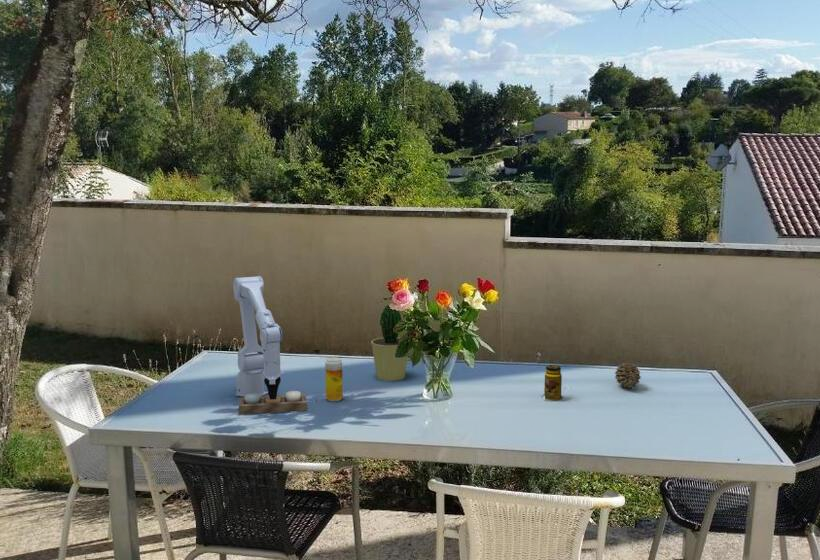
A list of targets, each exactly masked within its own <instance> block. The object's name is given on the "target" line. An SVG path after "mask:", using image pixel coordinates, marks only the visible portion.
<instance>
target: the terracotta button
mask: <svg viewBox="0 0 820 560" xmlns="http://www.w3.org/2000/svg"><path fill="white" fill-rule="evenodd" d="M265 401H266V403H274V402H281V398H280V397H276V399H270V398H269V397H267V398H266V399H265Z"/></svg>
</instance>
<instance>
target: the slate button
mask: <svg viewBox="0 0 820 560" xmlns="http://www.w3.org/2000/svg"><path fill="white" fill-rule="evenodd" d="M256 403H260V394H258V393H250V394H246V395H245V404H256Z"/></svg>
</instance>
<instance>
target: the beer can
mask: <svg viewBox="0 0 820 560" xmlns="http://www.w3.org/2000/svg"><path fill="white" fill-rule="evenodd" d="M324 363H325V398H326V399H327V401H328V402H333V403H334V402H341V401H342V399H343V395H344V394H343V392H344V391H343V390H344V389H343V388H344V387H343V386H344V385H343V384H344V383H343V360H342V358H340V357H327V358H326V360H325V362H324Z"/></svg>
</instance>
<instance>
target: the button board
mask: <svg viewBox="0 0 820 560" xmlns="http://www.w3.org/2000/svg"><path fill="white" fill-rule="evenodd" d="M267 397H269V395H263V396H261V397H260V403H256V404H245V397H240V398H239V402H238V403H239V404H238V415H240V416H242V415H241V414H245V415H256V414H255V413H262V414H272V413H271V412H279V413H292V412H291V411H296V412H307V411H308V401H307V395H306V393H301V401H292V402H286V394H283V395H280V394H279V395H277V397H280V398H281V402H274V403H266V401H265V399H266V398H267ZM306 410H307V411H306Z"/></svg>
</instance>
